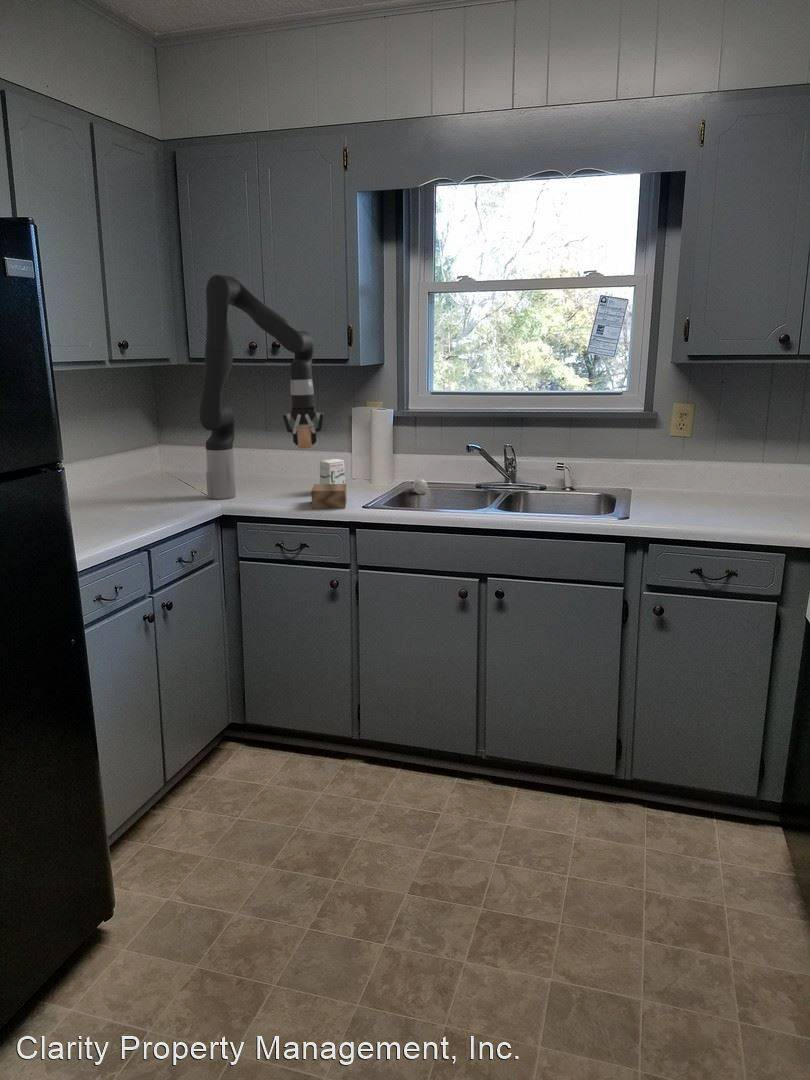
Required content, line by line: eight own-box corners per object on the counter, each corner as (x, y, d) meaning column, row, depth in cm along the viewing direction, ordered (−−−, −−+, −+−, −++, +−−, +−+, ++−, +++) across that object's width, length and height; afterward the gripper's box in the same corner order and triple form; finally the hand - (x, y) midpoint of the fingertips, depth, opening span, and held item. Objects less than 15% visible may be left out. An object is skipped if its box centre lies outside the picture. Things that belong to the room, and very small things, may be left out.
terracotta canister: (296, 448, 265) (295, 427, 263) (298, 446, 270) (297, 425, 268) (312, 448, 265) (310, 427, 264) (313, 446, 270) (312, 425, 268)
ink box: (330, 495, 286) (329, 462, 283) (319, 493, 289) (318, 461, 286) (346, 491, 293) (345, 459, 290) (335, 489, 296) (334, 458, 293)
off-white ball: (414, 495, 287) (413, 492, 291) (428, 493, 287) (427, 491, 292) (413, 481, 285) (412, 479, 290) (427, 480, 285) (426, 477, 290)
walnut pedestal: (312, 508, 264) (311, 491, 262) (314, 501, 276) (314, 484, 274) (345, 508, 264) (344, 490, 263) (346, 501, 276) (346, 483, 274)
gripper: (279, 394, 259) (282, 446, 264) (323, 393, 260) (325, 445, 264) (281, 393, 267) (285, 443, 271) (324, 391, 267) (327, 442, 271)
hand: (305, 444), depth 267 cm, fingers closed on terracotta canister, 5 cm apart
